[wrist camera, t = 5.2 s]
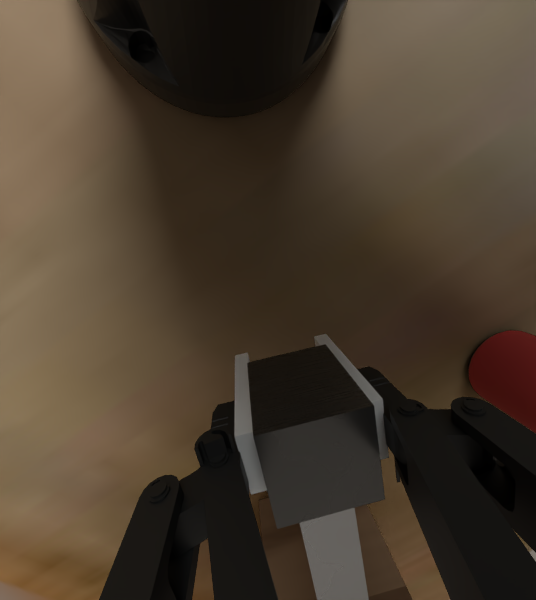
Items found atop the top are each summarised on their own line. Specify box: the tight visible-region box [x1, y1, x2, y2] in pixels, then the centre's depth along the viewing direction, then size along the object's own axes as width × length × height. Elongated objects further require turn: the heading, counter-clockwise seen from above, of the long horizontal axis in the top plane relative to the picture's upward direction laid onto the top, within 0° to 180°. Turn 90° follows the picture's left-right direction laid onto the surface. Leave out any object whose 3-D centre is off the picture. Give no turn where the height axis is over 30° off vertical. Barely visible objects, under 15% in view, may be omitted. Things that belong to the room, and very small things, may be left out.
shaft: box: [247, 344, 385, 600], centre depth 14 cm, size 23×4×5 cm, turn 12°
